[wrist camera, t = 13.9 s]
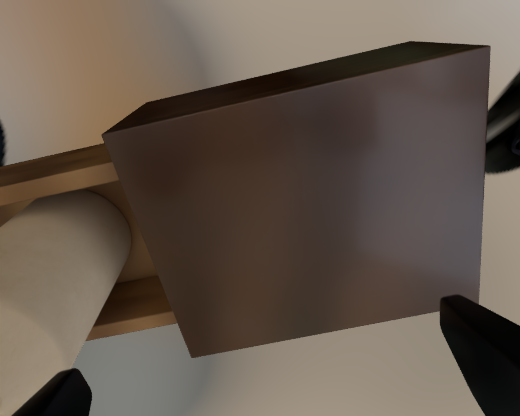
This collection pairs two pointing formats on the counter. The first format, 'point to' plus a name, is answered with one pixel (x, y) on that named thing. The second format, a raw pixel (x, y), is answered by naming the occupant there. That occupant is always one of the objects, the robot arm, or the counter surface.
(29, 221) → the candle
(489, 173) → the counter surface
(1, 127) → the counter surface
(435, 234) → the cabinet
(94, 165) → the drawer
